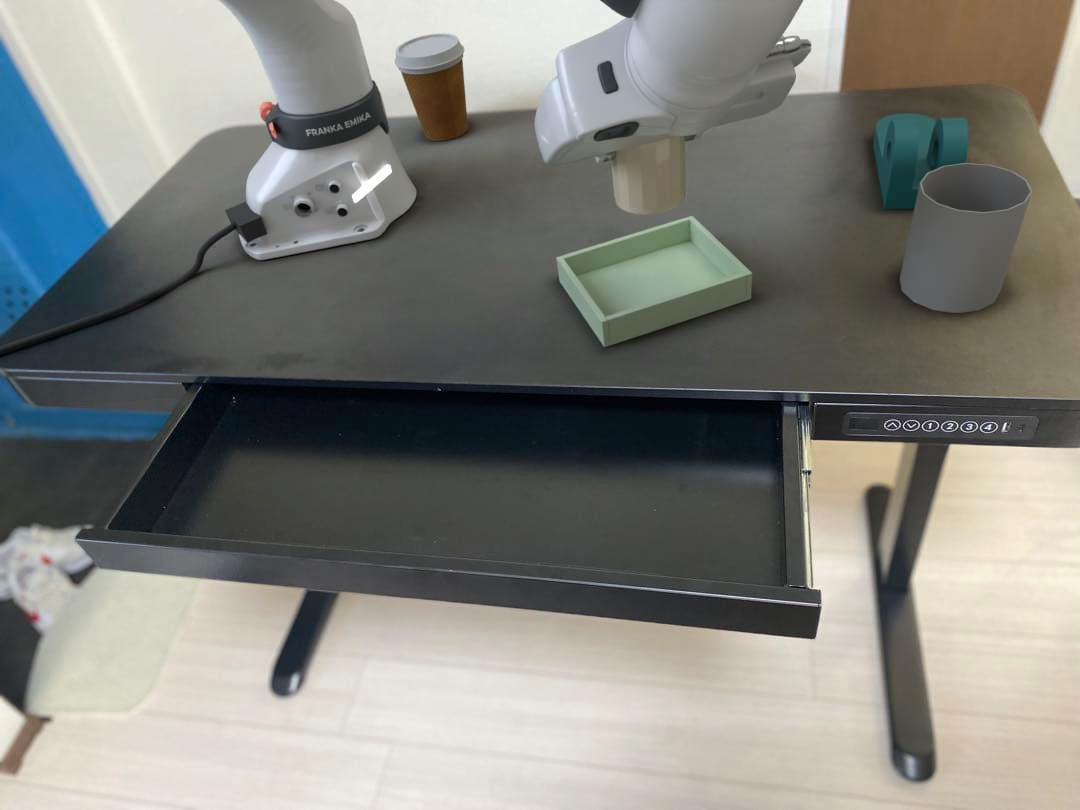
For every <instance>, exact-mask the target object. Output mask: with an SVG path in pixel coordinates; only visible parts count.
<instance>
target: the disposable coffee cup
mask: <svg viewBox="0 0 1080 810" xmlns="http://www.w3.org/2000/svg"><path fill="white" fill-rule="evenodd" d="M464 53H465V47H464V45H463V44H461V41H460V39H459V37H458V36H456V35H455V34H451V33H432V34H431V33H430V34H426V35H420V36H417V37H414V38H410V39H409V40H405V42H402V43H401V44H399V45H398V46H397V47H396V48H395V58H394V64H395V66H396V67H397V69H398V70H399V71H400V73H401V76H402V78H403V81H404V84H405V86H406V89H407V92H408V95H409V98H410V100H411V103H412V105H413V108H414V110H415V112H416V116H417V118H418V121H419V123H420V126H421V129H422V131H423V134H424V137H425V138H426V139H428V140H429V141H433V142H435V141H436V142H445V141H450V140H453V139H456V138H458V137H460V136H462V135H464V134H465V133H466V132H467V131H468V128H469V125H468V112H467V99H466V98H467V97H466V86H465V75H464V61H463V58H464Z"/></svg>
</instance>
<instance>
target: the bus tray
mask: <svg viewBox="0 0 1080 810" xmlns="http://www.w3.org/2000/svg"><path fill="white" fill-rule="evenodd" d="M555 258H556V265H557V273H558V279H559V283H560V285H561V286H562V287H563V288H564V290H565V292H566V293H567V294H568V296H569V297H570V299H571V301H572V302H573V303H574V305H575V307H576V308H577V309H578V311H579V312H580V314H581V315H582V317H583V318H584V320H585V321H586V322H587V324H588V325H589V327H590V329H591V330H592V332H593V333H594V334H595V336H596V338H598V340H599V342H600V343H601V345H602V346H603V347H604V348H607V347H610V346H613V345H616V344H619V343H623V342H625V341H629V340H631V339H635V338H637V337H641V336H644V335H647V334H649V333H653V332H655V331H658V330H662V329H664V328H667V327H670V326H673V325H677V324H680V323H682V322H686V321H689V320H691V319H695V318H698V317H701V316H704V315H708V314H710V313H713V312H717V311H720V310H723V309H726V308H729V307H732V306H734V305H737V304H741V303H743V302H746V301H750V300H752V288H753V272H752V271H751V270H749V268H748V267H747V266H746V265H744V263H743V262H741V261H740V260H739V259H738V258H737V257H736V256H735V255H734V254H733V253H732V252H731V251H730V250H729V249H728V248H727V247H726V246H725V245H724V244H722V243H721V241H719V240H718V239H717V238H716V237H715V236H714V235H713V234H712V233H711V232H710V231H709V230H708V229H707V228H705V226H704V225H703V224H701V222H699V220H698V219H696V217H694V216H693V215H690V216H686V217H683V218H679V219H676V220H674V221H670V222H666V223H664V224H660V225H657V226H654V227H650V228H647V229H644V230H641V231H637V232H634V233H631V234H628V235H625V236H622V237H619V238H615V239H611V240H609V241H605V242H601V243H599V244H595V245H592V246H587V247H586V248H585V247H584V248H582V249H579V250H575V251H572V252H569V253H566V254H563V255H559V256H557V257H555Z"/></svg>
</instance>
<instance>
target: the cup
mask: <svg viewBox="0 0 1080 810" xmlns="http://www.w3.org/2000/svg"><path fill="white" fill-rule="evenodd" d="M1032 193H1033V190H1032V188H1031V186H1030V184H1029V182H1028V180H1027V179H1025V178H1024V177H1023V176H1021V175H1020V174H1018V173H1016V172H1014V171H1013V170H1011V169H1007V168H1003V167H1000V166H997V165H993V164H986V163H985V164H983V163H971V162H970V163H969V162H966V163H962V164H955V165H947V166H942V167H940V168H938V169H935V170H933V171H931V172H928V173H927V174H926V175H925V177H924V178H923V179H922V181H921V182H920V185H919V189H918V194H917V199H916V204H915V208H914V209H913V214H912V219H911V223H910V228H909V233H908V236H907V237H908V239H907V242H906V247H905V251H904V256H903V261H902V266H901V270H900V276H899V283H900V288H901V292H902V293H903V294H905V295H906V297H908V299H910V300H911V301H912V302H913V303H915V304H917V305H919V306H922V307H925V308H927V309H929V310H932V311H938V312H944V313H952V314H962V313H971V312H978V311H981V310H983V309H985V308H987V307H989V306H991V305H993V304H994V303H995V302H996V300H997V299H998V297H999V295H1000V294H1001V291H1002V289H1003V284H1004V282H1005V278H1006V275H1007V272H1008V269H1009V266H1010V262H1011V259H1012V256H1013V253H1014V250H1015V248H1016V247H1015V246H1016V244H1017V240H1018V238H1019V234H1020V231H1021V228H1022V225H1023V222H1024V219H1025V215H1026V212H1027V209H1028V206H1029V202H1030V199H1031V197H1032Z"/></svg>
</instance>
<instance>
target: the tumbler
mask: <svg viewBox="0 0 1080 810" xmlns="http://www.w3.org/2000/svg"><path fill="white" fill-rule="evenodd" d="M610 162H611V163H610V164H611V172H612V174H611V175H612V186H613V187H612V188H613V197H614V203H615V205H616V206H617V208H619V209H620V210H622V211H624V212H626V213H630V214H634V215H644V216H645V215H655V214H662V213H664V212H668V211H670V210H672V209H675V208H676V207H678V206H679V205H681V203H682V202H683V201H684V199H685V197H686V142H685V136H675V137H671V138H667V139H663V140H659V141H655V142H651V143H647V144H643V145H639V146H635V147H631V148H626V149H622V150H618V151H616V155H615V157H614V160H610Z"/></svg>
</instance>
